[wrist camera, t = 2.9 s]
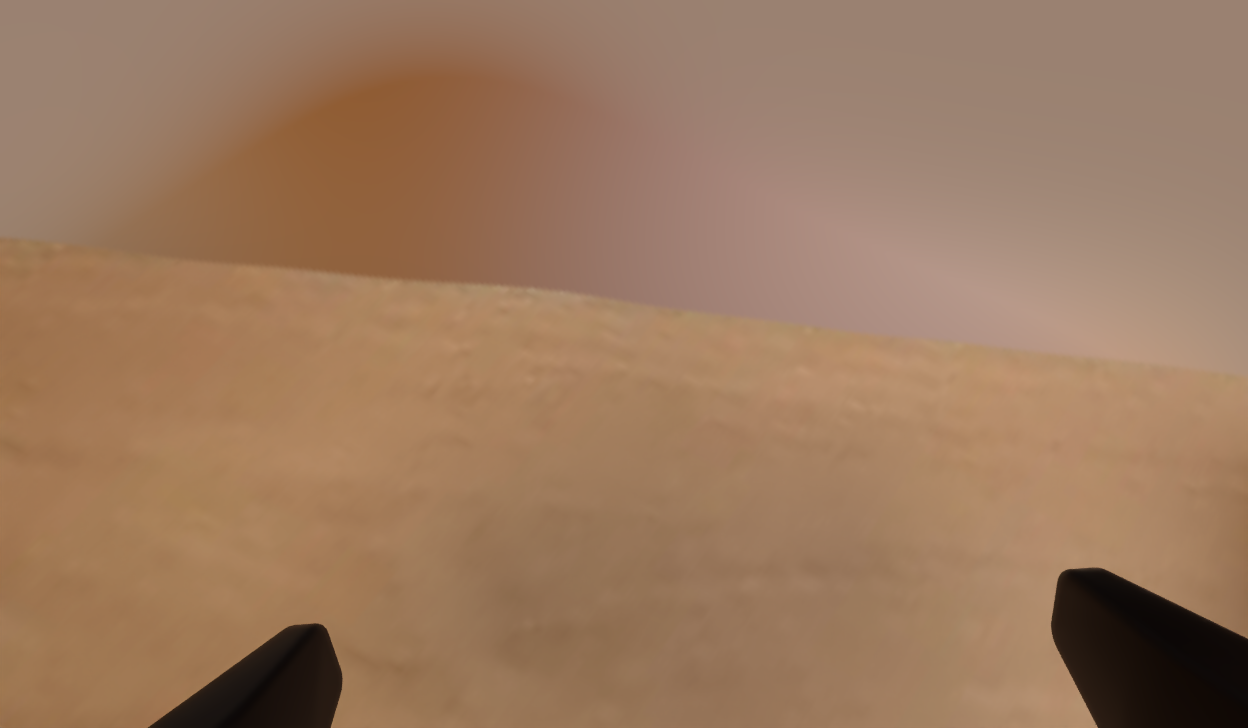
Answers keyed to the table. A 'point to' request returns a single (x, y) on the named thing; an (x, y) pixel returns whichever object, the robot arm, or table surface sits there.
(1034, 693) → the table surface
